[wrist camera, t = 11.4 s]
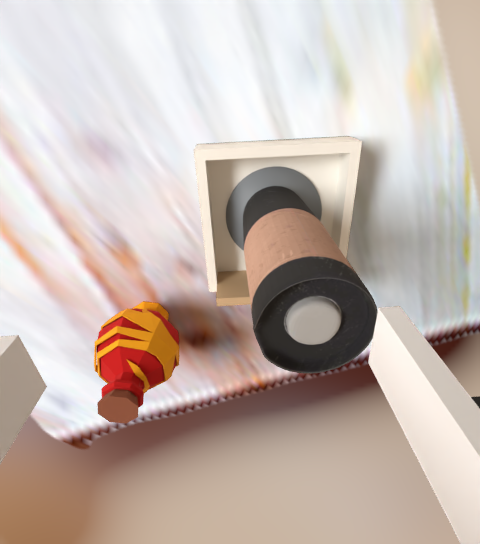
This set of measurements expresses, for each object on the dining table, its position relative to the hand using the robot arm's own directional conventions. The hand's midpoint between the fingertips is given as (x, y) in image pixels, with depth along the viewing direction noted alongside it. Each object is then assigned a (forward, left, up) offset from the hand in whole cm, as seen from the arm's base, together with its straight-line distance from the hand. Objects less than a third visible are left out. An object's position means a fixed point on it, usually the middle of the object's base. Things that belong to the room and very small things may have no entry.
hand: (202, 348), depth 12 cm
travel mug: (+4, +6, -26) cm, 27 cm away
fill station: (+4, +6, -27) cm, 28 cm away
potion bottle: (+18, -11, -27) cm, 34 cm away
